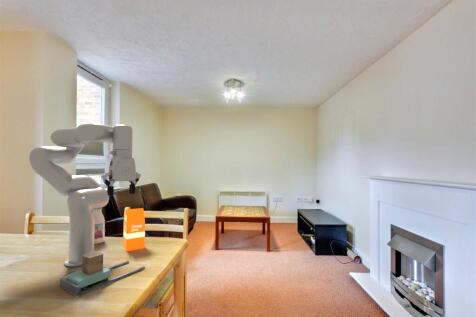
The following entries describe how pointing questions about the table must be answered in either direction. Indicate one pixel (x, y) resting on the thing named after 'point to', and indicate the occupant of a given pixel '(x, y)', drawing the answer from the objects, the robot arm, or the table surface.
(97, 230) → the milk bottle
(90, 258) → the block
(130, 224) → the orange juice
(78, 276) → the sage green box
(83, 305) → the table surface
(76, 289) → the track
